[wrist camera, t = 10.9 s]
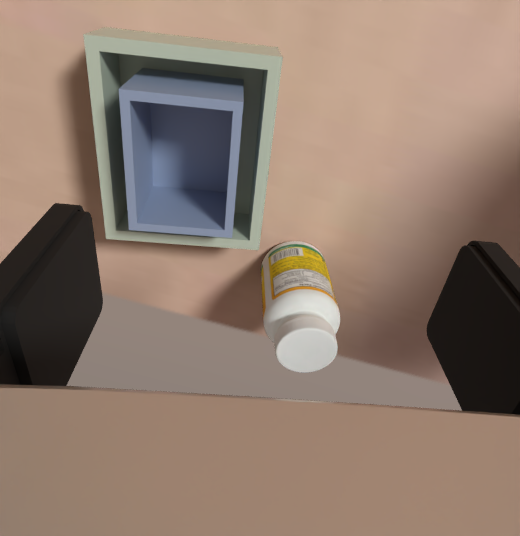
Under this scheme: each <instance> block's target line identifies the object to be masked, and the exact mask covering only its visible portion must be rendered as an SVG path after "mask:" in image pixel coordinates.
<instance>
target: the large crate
mask: <svg viewBox="0 0 520 536" xmlns="http://www.w3.org/2000/svg"><path fill="white" fill-rule="evenodd" d="M84 43H85V53H86V62H87V71H88V80H89V89H90V98H91V107H92V116H93V125H94V134H95V144H96V153H97V162H98V171H99V180H100V189H101V198H102V207H103V216H104V225H105V234H106V239H114V240H127V241H141V242H154V243H168V244H182V245H195V246H209V247H223V248H236V249H250V250H259V244H260V236H261V228H262V220H263V212H264V204H265V196H266V188H267V180H268V172H269V163H270V155H271V147H272V139H273V131H274V123H275V115H276V107H277V99H278V91H279V83H280V74H281V66H282V58H283V57H282V55H281V53H280V51H279V49H278V47H272V46H264V45H255V44H247V43H238V42H230V41H221V40H212V39H204V38H195V37H187V36H178V35H169V34H161V33H152V32H144V31H135V30H127V29H118V28H109V27H104V28H101V29H98V30H95V31H92V32H89V33H86V34H84ZM142 68H148V69H157V70H166V71H175V72H184V73H193V74H202V75H211V76H220V77H229V78H238V79H243V94H244V103H243V115H242V127H241V139H240V151H239V162H238V174H237V186H236V198H235V210H234V222H233V234H232V238H226V237H213V236H200V235H187V234H174V233H161V232H148V231H135V230H129V224H128V210H127V196H126V182H125V169H124V155H123V141H122V128H121V114H120V100H119V88H120V87H121V86H122V85H124V84H125V83H126V82H127V81H128V80H129V79H130V78H132V77H133V76H134V75H135V74H136V73H137V72H138V71H139V70H141V69H142Z"/></svg>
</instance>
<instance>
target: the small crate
mask: <svg viewBox="0 0 520 536" xmlns="http://www.w3.org/2000/svg"><path fill="white" fill-rule="evenodd" d="M119 100H120V114H121V128H122V141H123V155H124V169H125V182H126V196H127V210H128V224H129V230H135V231H148V232H161V233H174V234H187V235H200V236H213V237H226V238H232V234H233V222H234V210H235V198H236V186H237V174H238V162H239V151H240V139H241V127H242V115H243V103H244V94H243V79H238V78H229V77H220V76H211V75H202V74H193V73H184V72H175V71H166V70H157V69H148V68H142V69H141V70H139V71H138V72H137V73H136V74H135V75H134V76H133V77H132V78H130V79H129V80H128V81H127V82H126V83H125V84H124V85H122V86H121V87H120V88H119Z"/></svg>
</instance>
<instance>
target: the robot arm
mask: <svg viewBox="0 0 520 536" xmlns="http://www.w3.org/2000/svg"><path fill="white" fill-rule="evenodd" d="M102 304H103V298H102V290H101V283H100V276H99V268H98V261H97V254H96V247H95V239H94V232H93V225H92V218H91V215H90V213H89V212H84V210H83V208H82V207H81V206H80V205H70V204H59V203H55V204H54V205H53V206H52V207H51V208H50V209H49V210H48V211H47V212H46V213H45V215H44V216H43V217H42V218H41V219H40V220H39V221H38V222H37V223H36V225H35V226H34V227H33V228H32V229H31V230H30V231H29V232H28V234H27V235H26V236H25V237H24V238H23V239H22V240H21V241H20V242H19V244H18V245H17V246H16V247H15V248H14V249H13V250H12V251H11V252H10V254H9V255H8V256H7V257H6V258H5V259H4V260H3V261H2V262H1V264H0V536H520V268H519V267H518V265H517V264H516V263H515V262H514V261H513V260H512V259H511V258H510V257H509V255H508V254H507V253H506V252H505V251H504V250H503V249H502V248H501V246H500V245H499V244H497V243H493V242H482V241H471V242H470V243H469V244H468V245H467V246H463V247H462V248H461V249H460V251H459V253H458V255H457V258H456V260H455V262H454V265H453V267H452V269H451V271H450V274H449V276H448V278H447V281H446V283H445V285H444V287H443V290H442V292H441V294H440V297H439V299H438V301H437V303H436V306H435V308H434V310H433V313H432V315H431V317H430V319H429V322H428V325H427V336H428V339H429V341H430V343H431V345H432V347H433V349H434V351H435V353H436V356H437V358H438V360H439V362H440V364H441V366H442V368H443V370H444V373H445V375H446V377H447V379H448V381H449V383H450V385H451V387H452V390H453V391H454V394H455V396H456V398H457V400H458V402H459V404H460V406H461V409H462V411H459V410H445V409H431V408H417V407H402V406H388V405H373V404H358V403H341V402H327V401H312V400H296V399H280V398H263V397H249V396H232V395H215V394H197V393H180V392H164V391H163V392H162V391H147V390H128V389H112V388H95V387H94V388H93V387H76V386H66V385H67V383H68V381H69V379H70V377H71V374H72V372H73V370H74V368H75V366H76V364H77V362H78V360H79V357H80V355H81V353H82V351H83V349H84V347H85V345H86V343H87V341H88V338H89V336H90V334H91V332H92V330H93V327H94V326H95V324H96V321H97V319H98V317H99V315H100V312H101V310H102Z"/></svg>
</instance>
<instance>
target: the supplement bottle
mask: <svg viewBox="0 0 520 536" xmlns="http://www.w3.org/2000/svg"><path fill="white" fill-rule="evenodd" d="M261 283H262V302H263V322H264V328H265V331H266V334H267V336H268V337H269V339H270V340H271V341H272V342H273V343H274V345H275V353H276V357H277V359H278V361H279V362H280V364H281V365H283V366H284V367H285V368H287V369H289V370H292V371H295V372H301V373H308V372H314V371H318V370H320V369H323V368H324V367H326V366H328V365H329V364H330V363H331V362H332V361H333V360H334V358H335V357H336V354H337V350H338V346H337V340H336V336H335V334H336V333H337V331H338V328H339V325H340V312H339V308H338V304H337V301H336V298H335V294H334V291H333V287H332V284H331V280H330V277H329V273H328V270H327V267H326V263H325V260H324V257H323V255H322V254H321V252H320V251H319V250H318V249H317V248H315V247H314V246H312V245H310V244H308V243H305V242H301V241H289V242H284V243H282V244H279V245H277V246H275V247H274V248H273V249H271V250H270V251H269V252H268V253H267V255H266V256H265V258H264V260H263V262H262V266H261Z"/></svg>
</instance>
